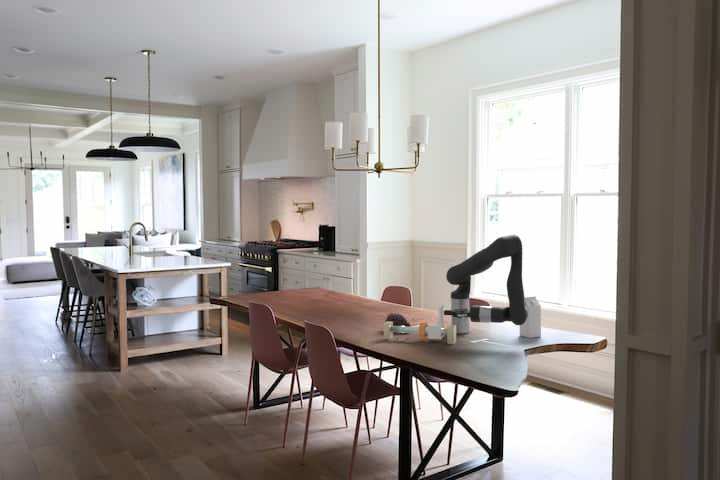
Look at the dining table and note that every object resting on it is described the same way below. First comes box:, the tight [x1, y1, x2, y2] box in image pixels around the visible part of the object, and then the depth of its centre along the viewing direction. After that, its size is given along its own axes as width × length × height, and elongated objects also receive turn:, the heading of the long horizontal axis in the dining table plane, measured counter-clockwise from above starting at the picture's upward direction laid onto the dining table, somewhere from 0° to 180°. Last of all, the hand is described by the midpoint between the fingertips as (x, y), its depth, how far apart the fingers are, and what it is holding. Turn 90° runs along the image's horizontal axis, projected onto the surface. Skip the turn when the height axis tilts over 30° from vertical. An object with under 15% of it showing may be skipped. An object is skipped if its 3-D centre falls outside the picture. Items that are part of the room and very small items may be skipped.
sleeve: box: [427, 304, 445, 340], centre depth 269 cm, size 6×6×15 cm
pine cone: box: [384, 312, 412, 327], centre depth 295 cm, size 18×10×10 cm
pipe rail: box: [383, 321, 457, 345], centre depth 272 cm, size 34×9×8 cm, turn 68°
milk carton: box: [519, 296, 542, 339], centre depth 277 cm, size 7×7×19 cm
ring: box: [418, 321, 429, 340], centre depth 272 cm, size 2×8×8 cm, turn 158°
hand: (444, 312), depth 267 cm, fingers closed
